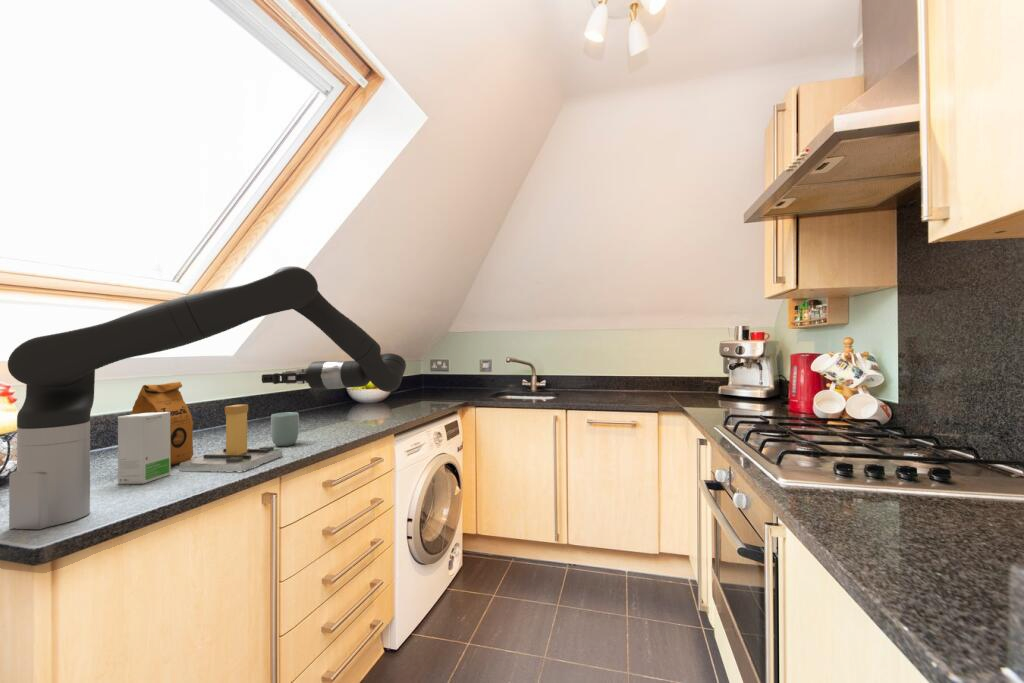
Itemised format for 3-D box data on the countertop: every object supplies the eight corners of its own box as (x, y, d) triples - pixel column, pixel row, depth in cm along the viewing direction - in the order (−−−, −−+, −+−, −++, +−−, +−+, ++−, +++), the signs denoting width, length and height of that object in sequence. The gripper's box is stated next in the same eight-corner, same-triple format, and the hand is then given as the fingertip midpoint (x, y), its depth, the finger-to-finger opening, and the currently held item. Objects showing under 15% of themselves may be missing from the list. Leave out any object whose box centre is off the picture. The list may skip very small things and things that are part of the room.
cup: (279, 449, 134) (279, 416, 134) (266, 446, 138) (266, 414, 139) (303, 444, 141) (303, 413, 141) (290, 441, 145) (290, 411, 145)
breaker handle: (236, 455, 116) (236, 406, 116) (224, 455, 117) (224, 406, 117) (248, 451, 121) (248, 404, 121) (236, 451, 121) (236, 404, 121)
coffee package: (199, 460, 122) (199, 381, 122) (156, 472, 110) (156, 384, 110) (169, 458, 124) (169, 381, 124) (123, 471, 111) (123, 384, 112)
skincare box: (143, 484, 100) (143, 416, 100) (114, 484, 100) (114, 416, 100) (172, 474, 108) (172, 411, 108) (146, 474, 108) (146, 411, 108)
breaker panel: (241, 472, 109) (241, 461, 109) (179, 471, 111) (179, 460, 111) (282, 456, 125) (282, 446, 125) (227, 455, 126) (227, 445, 127)
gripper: (342, 359, 124) (287, 362, 125) (315, 362, 110) (254, 365, 111) (343, 386, 124) (289, 388, 125) (316, 392, 110) (255, 394, 111)
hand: (272, 377), depth 118 cm, fingers open, 8 cm apart
